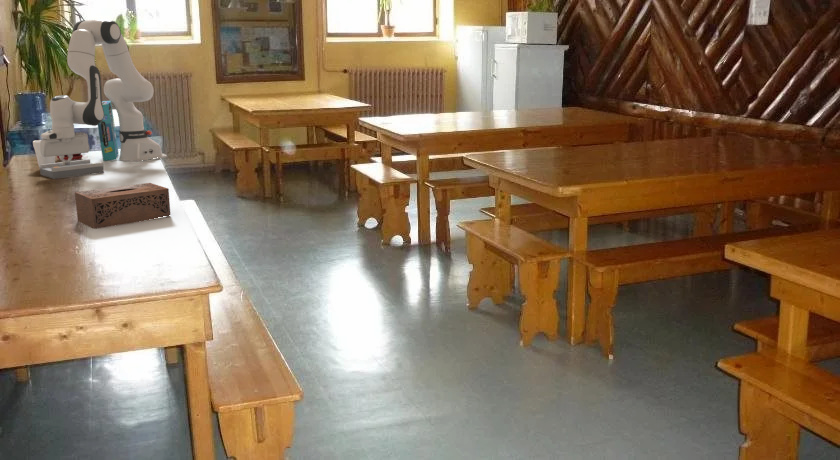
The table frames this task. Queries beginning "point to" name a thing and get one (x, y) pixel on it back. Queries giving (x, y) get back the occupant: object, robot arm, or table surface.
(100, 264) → the table surface
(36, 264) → the table surface
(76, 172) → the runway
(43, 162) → the foam cup
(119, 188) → the tissue box cover
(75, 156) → the plant pot
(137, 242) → the table surface
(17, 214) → the table surface
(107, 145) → the game box
